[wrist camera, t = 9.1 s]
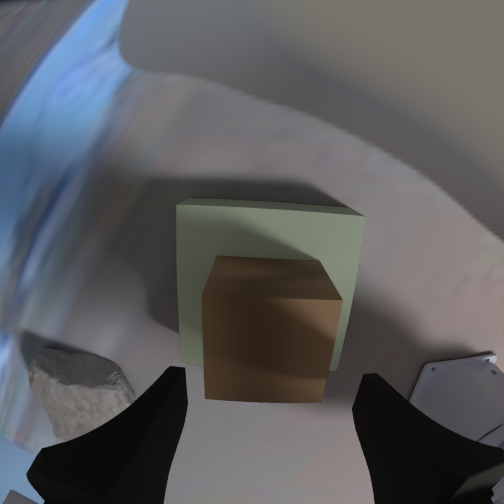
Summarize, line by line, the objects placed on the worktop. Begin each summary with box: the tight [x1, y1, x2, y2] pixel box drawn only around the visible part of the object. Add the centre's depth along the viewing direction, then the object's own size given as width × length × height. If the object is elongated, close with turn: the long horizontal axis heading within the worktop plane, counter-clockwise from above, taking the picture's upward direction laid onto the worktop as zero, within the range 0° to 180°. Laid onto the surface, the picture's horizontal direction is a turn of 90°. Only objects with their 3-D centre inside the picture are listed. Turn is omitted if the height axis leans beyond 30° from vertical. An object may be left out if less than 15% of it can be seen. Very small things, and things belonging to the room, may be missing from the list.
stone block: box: [28, 348, 135, 442], centre depth 23 cm, size 12×5×10 cm
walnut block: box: [202, 256, 343, 403], centre depth 15 cm, size 6×6×5 cm
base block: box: [176, 198, 366, 371], centre depth 19 cm, size 10×10×3 cm
